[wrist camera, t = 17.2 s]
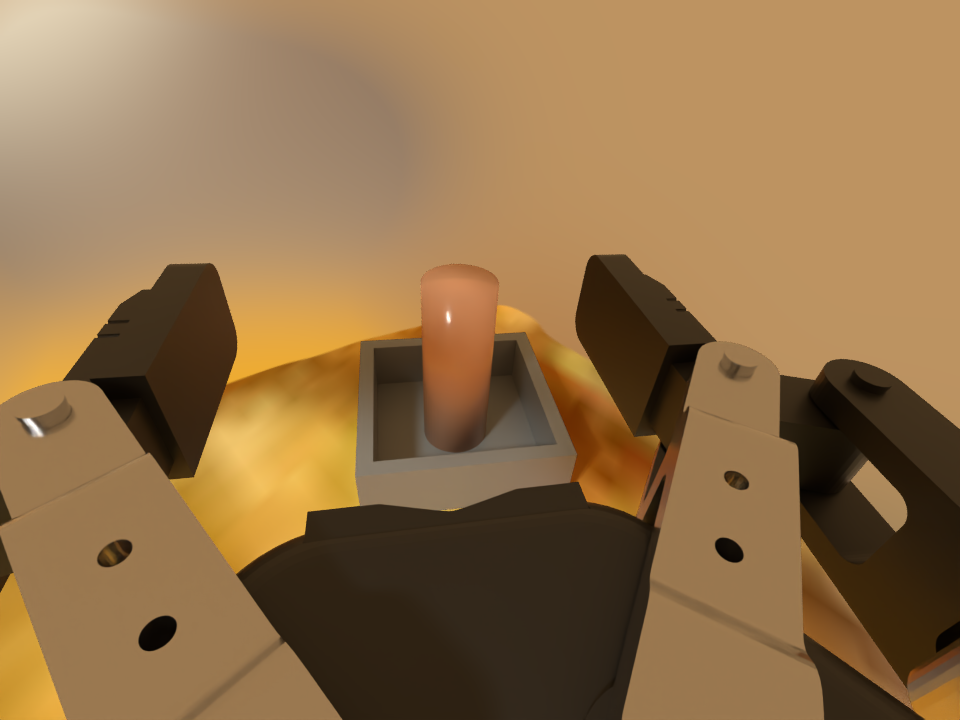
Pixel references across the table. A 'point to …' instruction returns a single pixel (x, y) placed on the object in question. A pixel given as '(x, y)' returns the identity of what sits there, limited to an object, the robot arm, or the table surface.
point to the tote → (463, 475)
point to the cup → (457, 353)
